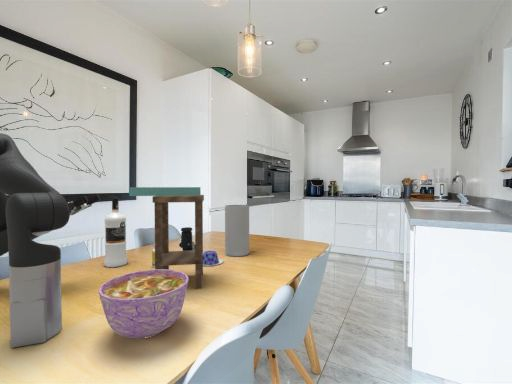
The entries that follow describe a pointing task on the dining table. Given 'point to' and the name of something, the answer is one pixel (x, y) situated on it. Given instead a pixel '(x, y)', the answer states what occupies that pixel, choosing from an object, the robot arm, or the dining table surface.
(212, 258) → the blue teacup with saucer
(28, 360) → the dining table surface
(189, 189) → the teal bar
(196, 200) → the stand
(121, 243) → the vodka
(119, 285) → the bowl of food
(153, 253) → the supplement bottle
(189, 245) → the scope
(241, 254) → the cylinder vase
